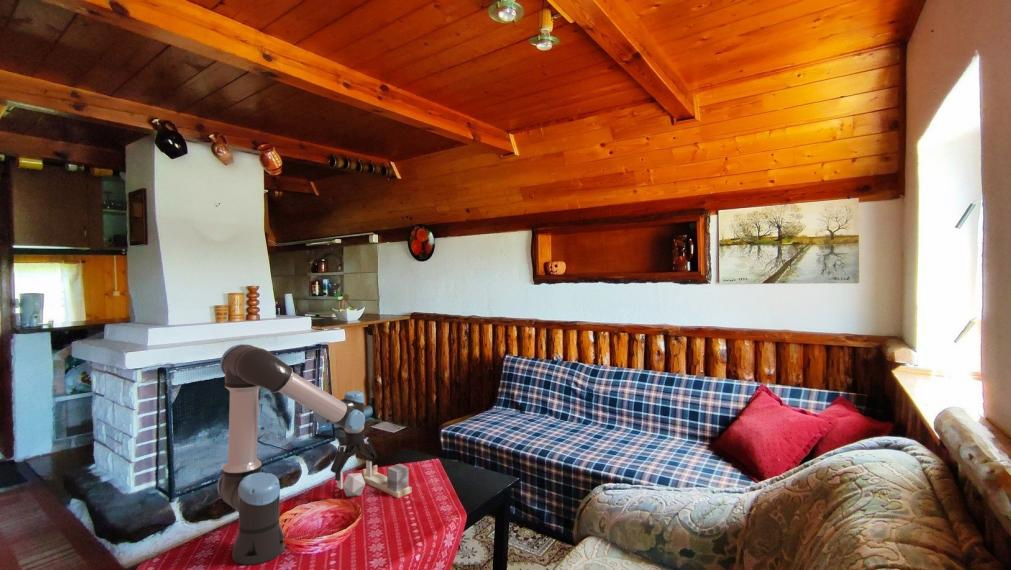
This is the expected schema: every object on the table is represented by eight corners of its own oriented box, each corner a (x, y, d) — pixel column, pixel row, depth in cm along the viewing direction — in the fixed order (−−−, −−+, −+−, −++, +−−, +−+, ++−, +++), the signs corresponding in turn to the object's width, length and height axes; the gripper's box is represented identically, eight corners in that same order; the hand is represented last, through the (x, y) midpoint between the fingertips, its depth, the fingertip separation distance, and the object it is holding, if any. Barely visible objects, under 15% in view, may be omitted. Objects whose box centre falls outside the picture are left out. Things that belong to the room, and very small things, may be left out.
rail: (398, 498, 196) (398, 473, 196) (362, 481, 212) (362, 458, 211) (411, 492, 202) (411, 468, 202) (375, 476, 217) (376, 453, 217)
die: (355, 503, 193) (370, 478, 197) (335, 491, 193) (350, 467, 197) (357, 501, 201) (371, 478, 205) (338, 490, 201) (352, 467, 205)
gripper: (331, 440, 186) (332, 495, 187) (385, 424, 206) (385, 474, 207) (320, 436, 191) (321, 490, 192) (374, 420, 210) (375, 469, 211)
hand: (354, 482), depth 199 cm, fingers open, 13 cm apart
